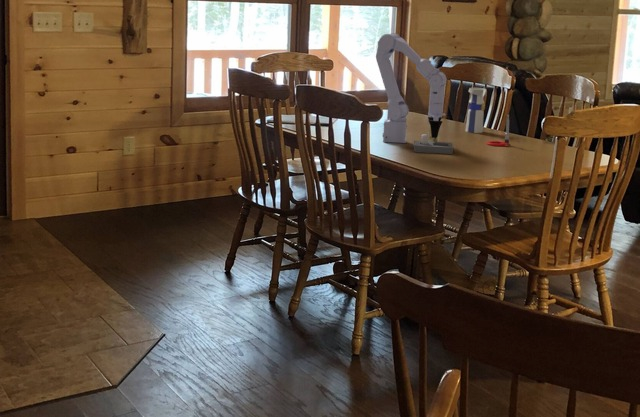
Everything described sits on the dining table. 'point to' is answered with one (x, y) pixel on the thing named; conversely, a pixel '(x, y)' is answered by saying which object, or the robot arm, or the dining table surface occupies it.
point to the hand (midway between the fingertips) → (434, 136)
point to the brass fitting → (431, 136)
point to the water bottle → (476, 109)
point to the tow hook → (505, 137)
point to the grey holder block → (432, 146)
